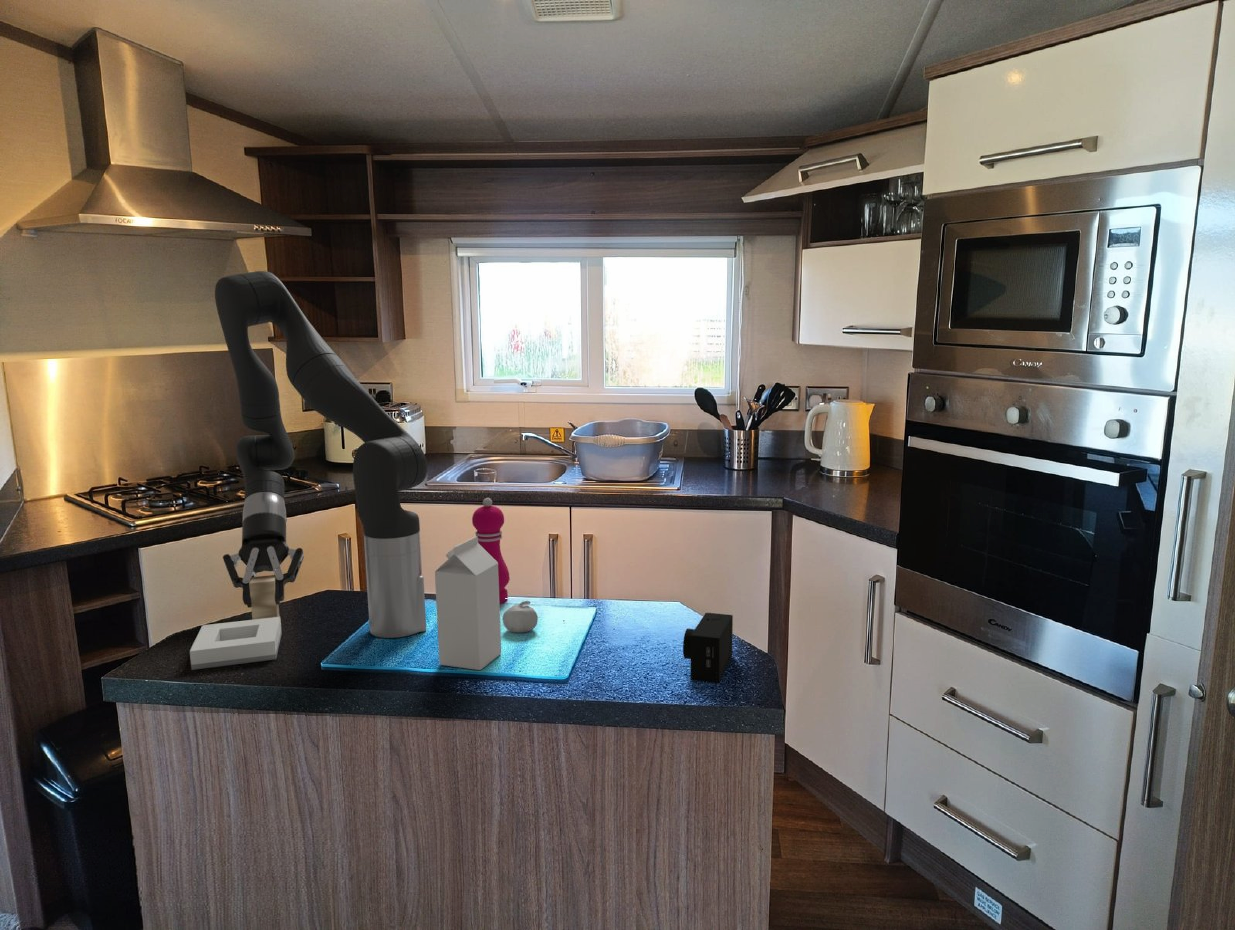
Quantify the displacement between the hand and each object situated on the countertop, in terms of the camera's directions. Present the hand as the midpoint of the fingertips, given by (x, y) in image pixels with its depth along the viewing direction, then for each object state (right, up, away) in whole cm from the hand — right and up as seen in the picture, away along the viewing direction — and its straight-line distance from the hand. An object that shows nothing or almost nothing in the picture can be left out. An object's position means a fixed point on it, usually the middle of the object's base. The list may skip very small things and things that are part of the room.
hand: (263, 603), depth 142 cm
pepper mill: (+38, -2, +13) cm, 40 cm away
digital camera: (+76, -6, -20) cm, 79 cm away
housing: (+1, -6, -11) cm, 12 cm away
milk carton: (+39, -6, -16) cm, 43 cm away
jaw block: (-1, -4, +2) cm, 5 cm away
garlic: (+46, -4, -3) cm, 46 cm away
